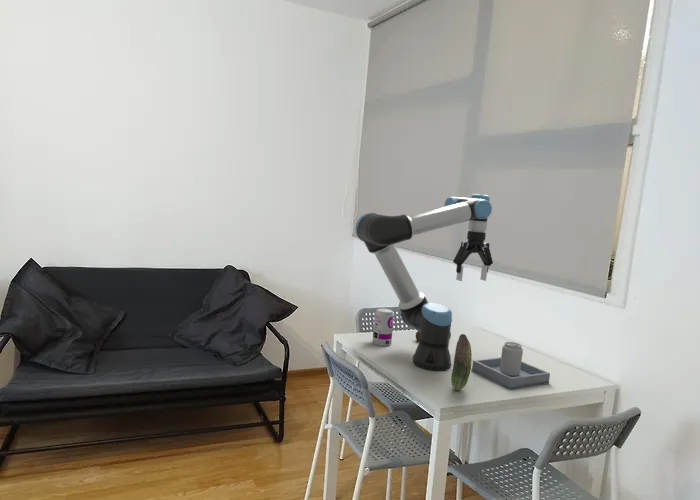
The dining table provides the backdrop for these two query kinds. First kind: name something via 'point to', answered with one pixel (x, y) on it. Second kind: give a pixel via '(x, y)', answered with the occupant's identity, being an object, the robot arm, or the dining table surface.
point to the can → (511, 359)
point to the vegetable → (461, 363)
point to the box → (525, 379)
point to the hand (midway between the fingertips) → (471, 280)
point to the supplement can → (383, 327)
